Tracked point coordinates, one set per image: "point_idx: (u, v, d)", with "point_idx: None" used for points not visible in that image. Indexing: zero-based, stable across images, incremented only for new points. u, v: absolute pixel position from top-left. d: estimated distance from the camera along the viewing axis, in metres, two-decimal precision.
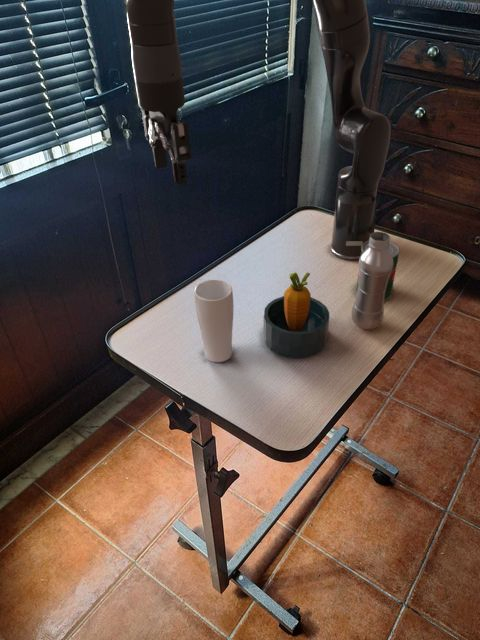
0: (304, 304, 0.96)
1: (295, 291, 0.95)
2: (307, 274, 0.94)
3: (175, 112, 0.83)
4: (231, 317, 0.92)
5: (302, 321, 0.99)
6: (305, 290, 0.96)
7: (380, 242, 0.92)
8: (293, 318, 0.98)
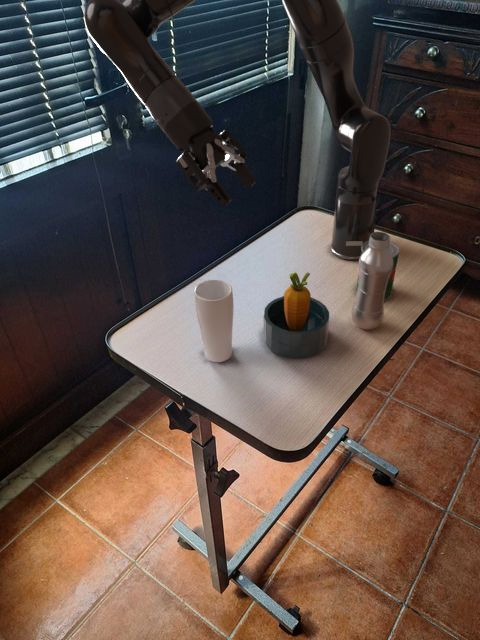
0: (304, 304, 0.96)
1: (295, 291, 0.95)
2: (307, 274, 0.94)
3: (188, 143, 0.84)
4: (231, 317, 0.92)
5: (302, 321, 0.99)
6: (305, 290, 0.96)
7: (380, 242, 0.92)
8: (293, 318, 0.98)
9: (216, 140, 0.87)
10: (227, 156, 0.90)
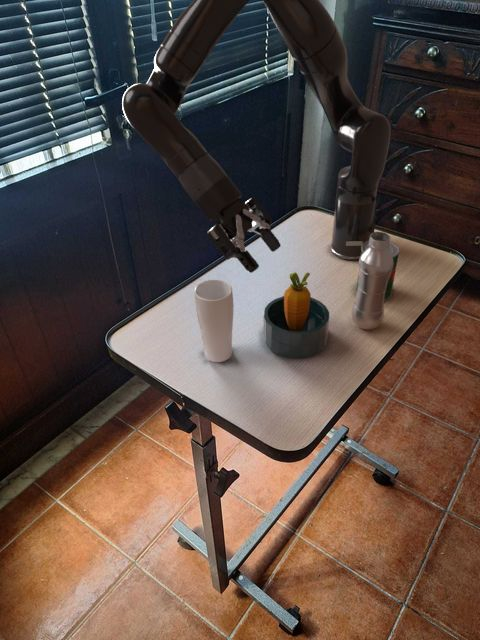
0: (304, 304, 0.96)
1: (295, 291, 0.95)
2: (307, 274, 0.94)
3: (218, 216, 0.90)
4: (231, 317, 0.92)
5: (302, 321, 0.99)
6: (305, 290, 0.96)
7: (380, 242, 0.92)
8: (293, 318, 0.98)
9: (244, 210, 0.93)
10: (254, 223, 0.96)
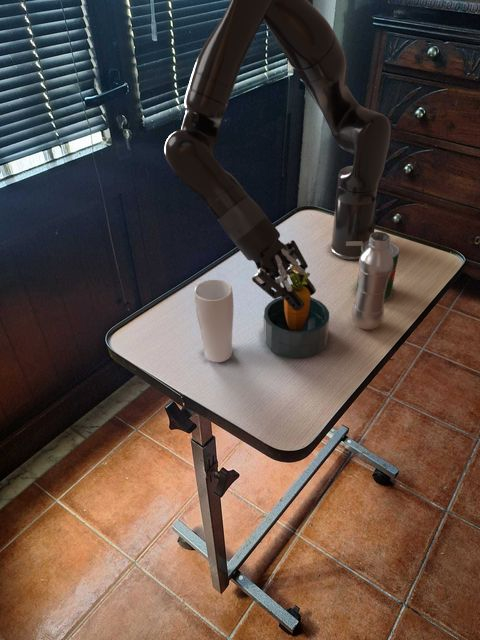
0: None
1: (295, 291, 0.95)
2: (307, 274, 0.94)
3: (258, 257, 0.91)
4: (231, 317, 0.92)
5: (302, 321, 0.98)
6: (305, 290, 0.96)
7: (380, 242, 0.92)
8: (293, 318, 0.98)
9: (283, 250, 0.94)
10: (290, 266, 0.96)
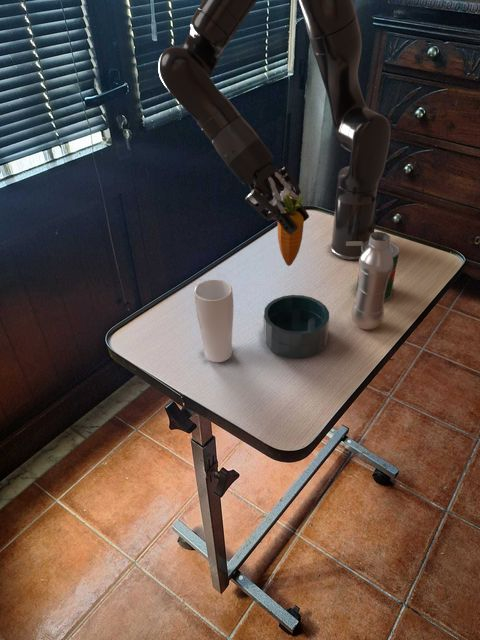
0: None
1: None
2: (300, 197, 0.95)
3: (252, 178, 0.92)
4: (231, 317, 0.92)
5: (295, 247, 0.99)
6: (298, 214, 0.97)
7: (380, 242, 0.92)
8: (286, 244, 0.99)
9: (276, 173, 0.95)
10: (283, 191, 0.97)
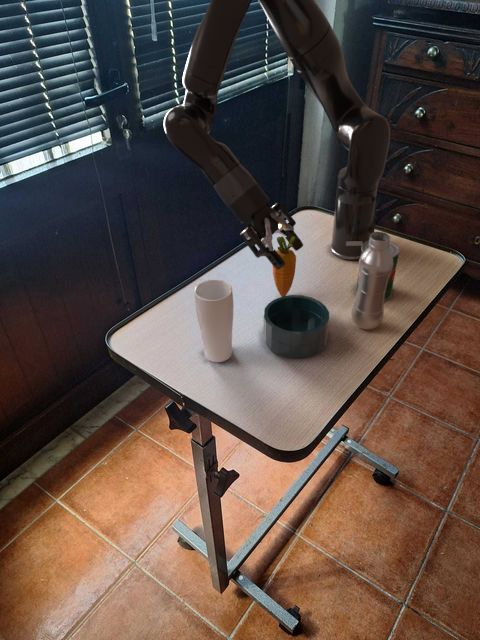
0: (290, 265, 1.07)
1: (282, 253, 1.06)
2: (293, 238, 1.05)
3: (250, 219, 1.02)
4: (231, 317, 0.92)
5: (289, 281, 1.09)
6: (291, 253, 1.07)
7: (380, 242, 0.92)
8: (280, 279, 1.09)
9: (272, 214, 1.04)
10: (279, 225, 1.08)
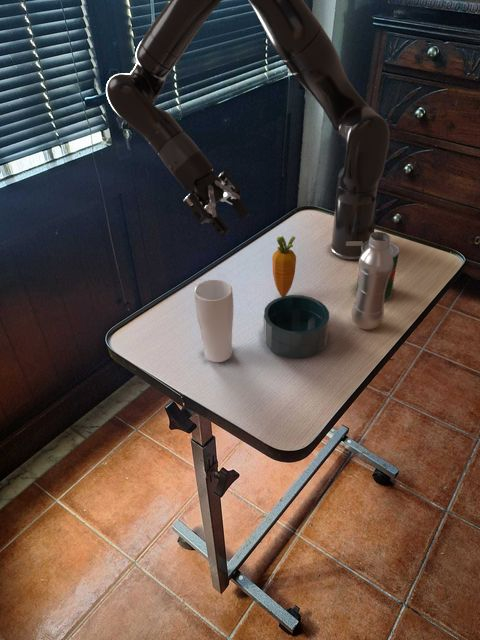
0: (290, 265, 1.07)
1: (282, 253, 1.06)
2: (293, 238, 1.05)
3: (193, 186, 1.04)
4: (231, 317, 0.92)
5: (289, 281, 1.09)
6: (291, 253, 1.07)
7: (380, 242, 0.92)
8: (280, 279, 1.09)
9: (216, 181, 1.06)
10: (225, 193, 1.10)
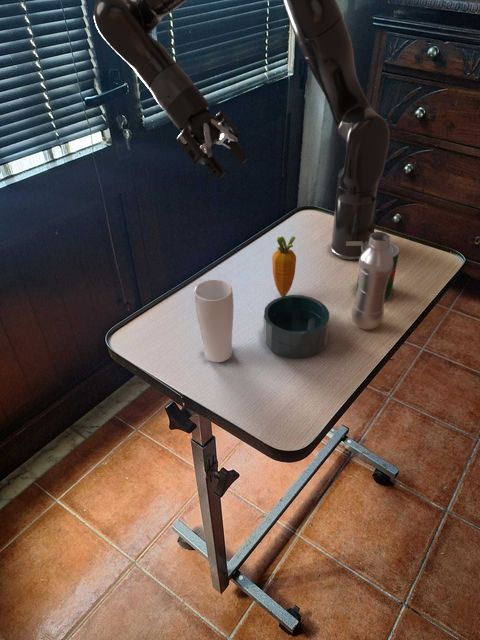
0: (290, 265, 1.07)
1: (282, 253, 1.06)
2: (293, 238, 1.05)
3: (187, 123, 0.96)
4: (231, 317, 0.92)
5: (289, 281, 1.09)
6: (291, 253, 1.07)
7: (380, 242, 0.92)
8: (280, 279, 1.09)
9: (212, 120, 0.99)
10: (222, 135, 1.02)
